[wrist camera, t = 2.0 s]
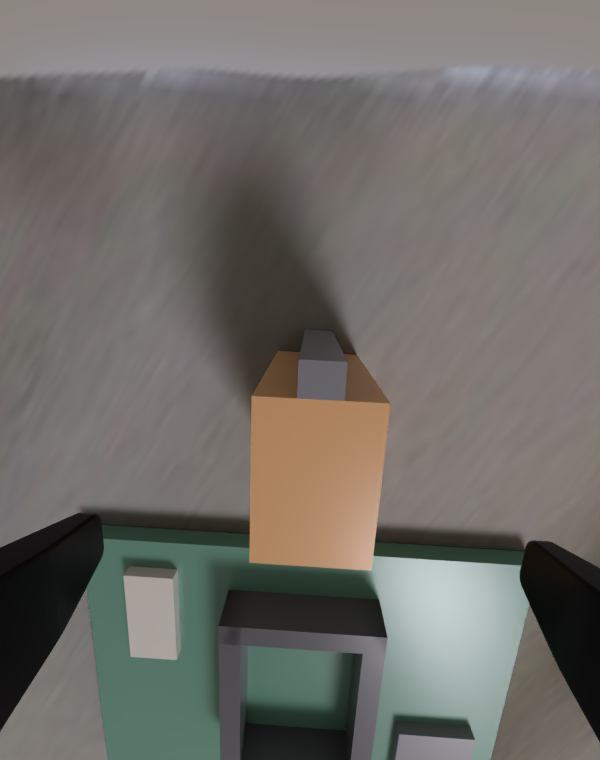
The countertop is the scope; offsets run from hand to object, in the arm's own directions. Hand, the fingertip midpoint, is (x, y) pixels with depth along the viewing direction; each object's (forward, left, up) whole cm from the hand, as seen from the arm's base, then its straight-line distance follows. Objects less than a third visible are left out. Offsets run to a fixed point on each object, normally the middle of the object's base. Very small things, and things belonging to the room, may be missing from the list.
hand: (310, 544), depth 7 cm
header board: (0, -15, -9) cm, 17 cm away
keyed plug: (0, 0, -9) cm, 9 cm away
